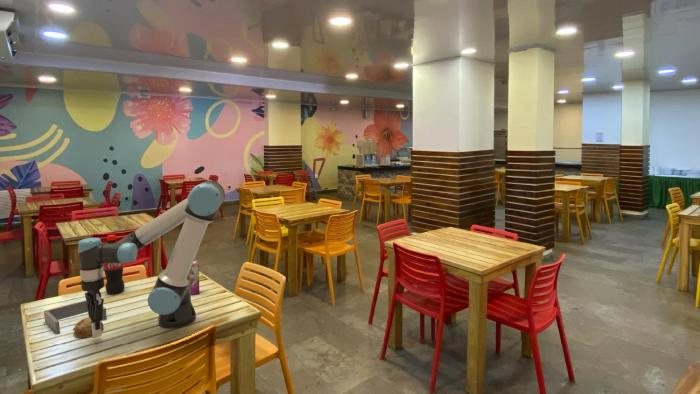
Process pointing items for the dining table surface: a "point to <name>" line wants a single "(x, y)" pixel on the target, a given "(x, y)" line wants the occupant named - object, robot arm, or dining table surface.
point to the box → (65, 314)
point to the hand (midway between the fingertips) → (97, 336)
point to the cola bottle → (113, 273)
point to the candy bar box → (194, 278)
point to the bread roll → (84, 328)
